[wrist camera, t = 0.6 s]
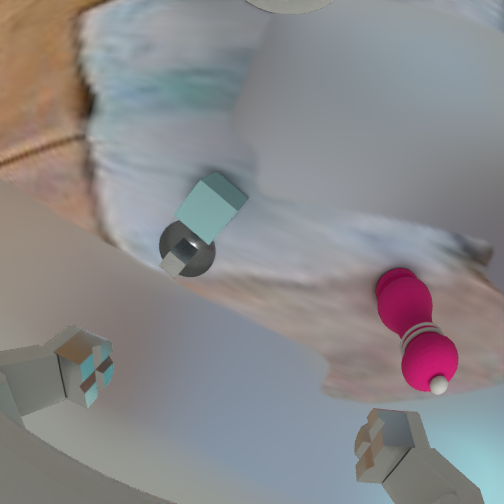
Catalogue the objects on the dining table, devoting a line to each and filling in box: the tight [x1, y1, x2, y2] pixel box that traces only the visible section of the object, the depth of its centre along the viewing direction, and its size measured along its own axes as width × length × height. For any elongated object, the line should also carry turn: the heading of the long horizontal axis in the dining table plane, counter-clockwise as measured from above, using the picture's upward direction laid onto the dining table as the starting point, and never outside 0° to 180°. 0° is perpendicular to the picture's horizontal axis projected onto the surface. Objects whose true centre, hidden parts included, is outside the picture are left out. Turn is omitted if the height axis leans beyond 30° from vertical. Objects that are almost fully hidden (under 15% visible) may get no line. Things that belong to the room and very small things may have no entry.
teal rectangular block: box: [174, 171, 248, 245], centre depth 38 cm, size 5×5×7 cm
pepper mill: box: [376, 268, 458, 394], centre depth 32 cm, size 7×7×20 cm
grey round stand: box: [159, 221, 215, 279], centre depth 41 cm, size 8×8×6 cm
